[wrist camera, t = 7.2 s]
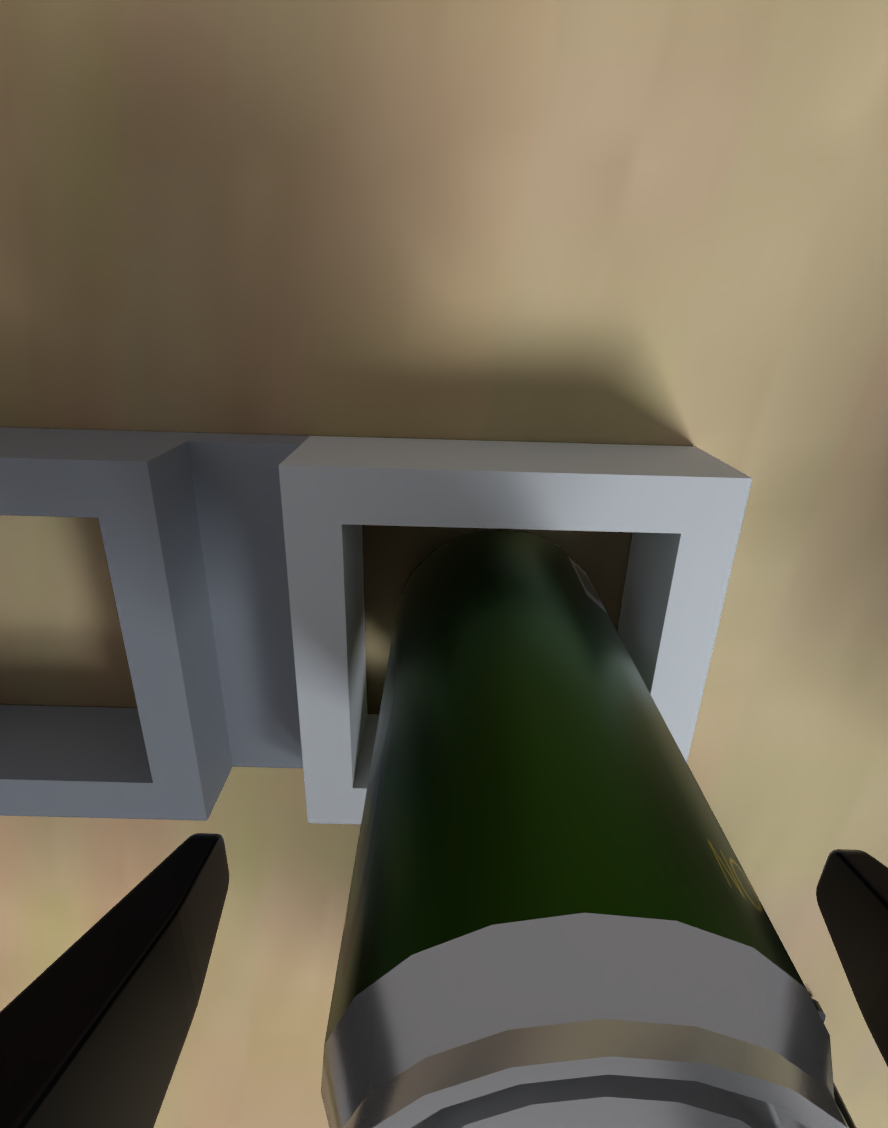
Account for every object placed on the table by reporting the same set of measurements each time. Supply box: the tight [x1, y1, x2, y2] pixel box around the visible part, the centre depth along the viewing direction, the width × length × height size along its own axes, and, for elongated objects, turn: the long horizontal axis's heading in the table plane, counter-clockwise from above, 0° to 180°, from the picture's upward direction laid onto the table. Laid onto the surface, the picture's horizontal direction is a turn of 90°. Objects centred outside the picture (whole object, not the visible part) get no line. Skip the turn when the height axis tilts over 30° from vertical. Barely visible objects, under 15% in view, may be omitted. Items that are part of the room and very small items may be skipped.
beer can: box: [321, 530, 849, 1128], centre depth 11 cm, size 5×5×12 cm
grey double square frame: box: [0, 427, 752, 824], centre depth 15 cm, size 21×9×3 cm, turn 88°
